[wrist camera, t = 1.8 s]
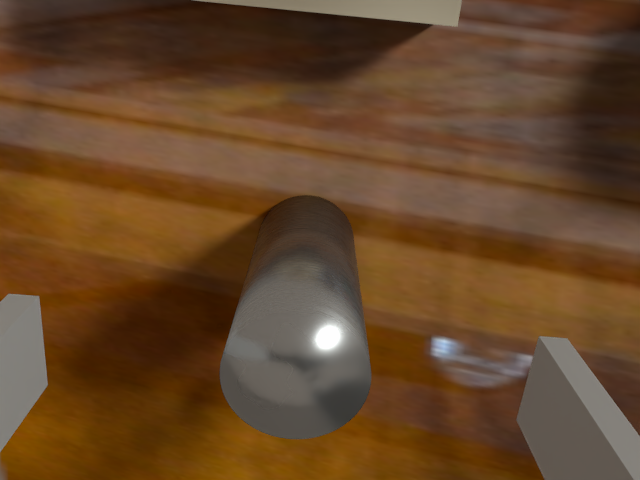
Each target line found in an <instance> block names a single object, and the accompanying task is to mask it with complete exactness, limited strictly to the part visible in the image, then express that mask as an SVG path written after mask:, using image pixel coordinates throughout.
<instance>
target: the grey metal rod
mask: <svg viewBox="0 0 640 480" xmlns="http://www.w3.org/2000/svg"><path fill="white" fill-rule="evenodd" d="M220 383H221V388H222V391H223V394H224V396H225V398H226V400H227V402H228V404H229V405H230V407H231V408H232V409H233V411H234V412H235V413H236V414H237V415H238V416H239V417H240V418H241V419H242V420H243V421H245V422H246V423H247V424H249V425H250V426H252V427H253V428H255V429H257V430H259V431H261V432H263V433H266V434H269V435H272V436H276V437H280V438H287V439H307V438H313V437H318V436H321V435H325V434H328V433H330V432H332V431H335V430H336V429H338V428H340V427H342V426H343V425H345V424H346V423H347V422H348V421H350V420H351V419H352V418H353V417H354V416H355V415H356V414H357V413H358V411H359V410H360V409H361V407H362V406H363V404H364V402H365V400H366V398H367V395H368V393H369V389H370V385H371V367H370V359H369V352H368V344H367V336H366V329H365V321H364V314H363V306H362V298H361V291H360V283H359V276H358V268H357V260H356V253H355V245H354V237H353V231H352V227H351V225H350V222H349V220H348V219H347V217H346V215H345V214H344V213H343V212H342V211H341V210H340V209H339V208H338V207H337V206H336V205H335V204H333V203H331V202H330V201H328V200H326V199H323V198H320V197H316V196H308V195H303V196H295V197H291V198H288V199H286V200H284V201H282V202H280V203H279V204H277V205H276V206H274V207H273V208H272V209H271V210H270V211H269V213H268V214H267V215H266V217H265V218H264V220H263V223H262V225H261V228H260V231H259V235H258V238H257V241H256V245H255V248H254V252H253V255H252V258H251V262H250V265H249V268H248V272H247V275H246V279H245V282H244V285H243V289H242V292H241V295H240V299H239V302H238V305H237V309H236V312H235V316H234V319H233V322H232V326H231V329H230V332H229V336H228V339H227V343H226V346H225V349H224V353H223V356H222V360H221V364H220Z"/></svg>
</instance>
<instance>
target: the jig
mask: <svg viewBox="0 0 640 480" xmlns="http://www.w3.org/2000/svg"><path fill="white" fill-rule="evenodd" d="M193 1H203V2H213V3H223V4H234V5H244V6H254V7H264V8H274V9H284V10H294V11H304V12H314V13H324V14H334V15H345V16H355V17H365V18H375V19H385V20H395V21H405V22H415V23H425V24H435V25H446V26H458V20H459V14H460V8H461V2H462V0H193Z"/></svg>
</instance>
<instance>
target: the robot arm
mask: <svg viewBox="0 0 640 480" xmlns="http://www.w3.org/2000/svg"><path fill="white" fill-rule="evenodd" d="M47 386H48V382H47V371H46V361H45V351H44V341H43V331H42V321H41V310H40V300H39V296H30V295H17V294H8V295H7V296H6V297H5V298H4V299H3V300H2V301H1V302H0V452H1V450H2V449H3V448H4V446H5V445H6V443H7V442H8V441H9V439H10V438H11V436H12V435H13V433H14V432H15V431H16V429H17V428H18V426H19V425H20V424H21V422H22V421H23V419H24V418H25V417H26V415H27V414H28V412H29V411H30V409H31V408H32V407H33V405H34V404H35V402H36V401H37V400H38V398H39V397H40V395H41V394H42V393H43V391H44V390H45V388H46V387H47ZM517 422H518V424H519V426H520V429H521V431H522V433H523V435H524V437H525V439H526V441H527V443H528V445H529V448H530V450H531V452H532V454H533V456H534V458H535V460H536V462H537V464H538V467H539V469H540V471H541V473H542V475H543V477H544V479H545V480H640V436H639V435H638V434H637V432H636V431H635V429H634V428H633V427H632V425H631V424H630V423H629V421H628V420H627V419H626V417H625V416H624V415H623V413H622V412H621V411H620V409H619V408H618V406H617V405H616V404H615V402H614V401H613V400H612V398H611V397H610V396H609V394H608V393H607V392H606V390H605V389H604V388H603V386H602V385H601V384H600V382H599V381H598V379H597V378H596V377H595V375H594V374H593V373H592V371H591V370H590V369H589V367H588V366H587V365H586V363H585V362H584V361H583V359H582V358H581V356H580V355H579V354H578V352H577V351H576V350H575V348H574V347H573V346H572V344H571V343H570V342H569V340H568V339H567V338H555V337H542V336H539V338H538V342H537V345H536V349H535V353H534V356H533V360H532V364H531V368H530V371H529V375H528V379H527V383H526V386H525V390H524V394H523V397H522V401H521V405H520V409H519V412H518V416H517Z"/></svg>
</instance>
